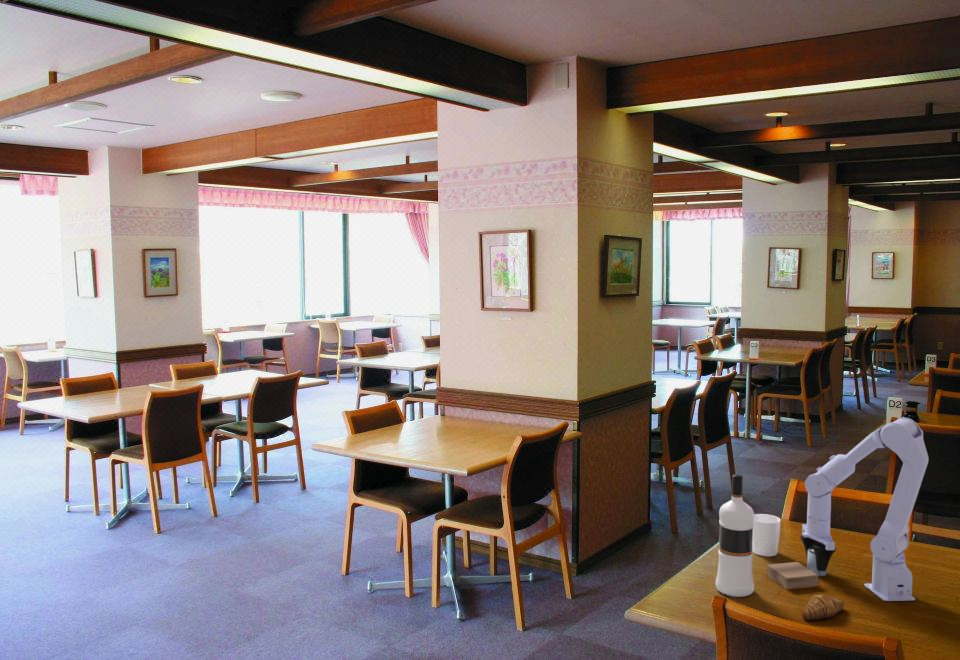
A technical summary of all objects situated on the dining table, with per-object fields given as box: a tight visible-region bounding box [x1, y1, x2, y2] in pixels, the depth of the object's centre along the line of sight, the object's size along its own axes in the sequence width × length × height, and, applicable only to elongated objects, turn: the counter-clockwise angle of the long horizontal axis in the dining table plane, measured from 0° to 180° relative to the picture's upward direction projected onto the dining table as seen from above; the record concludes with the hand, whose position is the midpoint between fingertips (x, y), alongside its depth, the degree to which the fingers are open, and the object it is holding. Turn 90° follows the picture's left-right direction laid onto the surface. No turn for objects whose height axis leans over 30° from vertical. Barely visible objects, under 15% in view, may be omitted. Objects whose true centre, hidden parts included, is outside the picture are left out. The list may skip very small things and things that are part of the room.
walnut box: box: [765, 561, 819, 590], centre depth 206 cm, size 9×9×3 cm
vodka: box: [715, 473, 755, 598], centre depth 199 cm, size 9×9×30 cm
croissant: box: [802, 594, 845, 622], centre depth 187 cm, size 14×7×5 cm, turn 120°
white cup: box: [752, 513, 781, 557], centre depth 226 cm, size 8×8×10 cm
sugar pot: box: [806, 547, 828, 577], centre depth 212 cm, size 5×5×6 cm
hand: (816, 566), depth 212 cm, fingers closed on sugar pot, 5 cm apart
